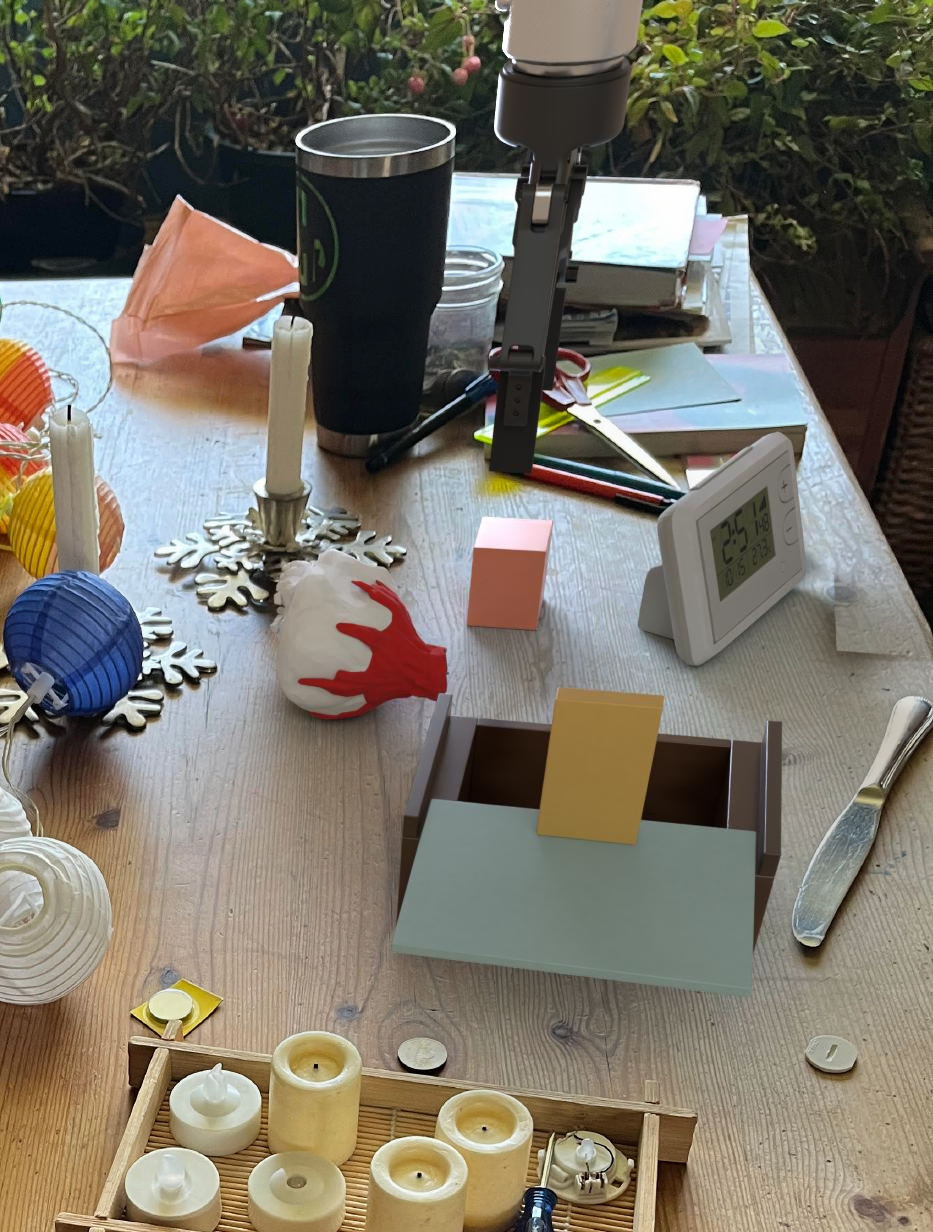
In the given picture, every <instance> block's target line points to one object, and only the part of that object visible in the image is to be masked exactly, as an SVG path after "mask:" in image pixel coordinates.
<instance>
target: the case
mask: <svg viewBox="0 0 933 1232" xmlns="http://www.w3.org/2000/svg"><path fill="white" fill-rule="evenodd" d="M453 696H454V695H453V694H452V693H445V694H444V693H439V695H438V699H437V702H436V701H435V706H434V709H433V713H432V716H431V719H430V723H429V726H428V730H427V733H426V736H425V741H424V743H423V747H422V750H421V753H420V757H419V761H418V764H417V767H416V771H415V774H414V778H413V782H412V785H411V788H410V792H409V795H408V799H407V802H406V804H405V805H406V806H405V809H404V813H403V817H402V818H403V819H402V830H401V831H402V832H401V847H400V859H399V862H400V863H399V876H398V889H397V891H398V892H397V903H396V905H397V906H396V918H395V919H396V921H395V926H396V925H397V921H398V918H399V914H400V911H401V907H402V903H403V900H404V896H405V892H406V889H407V885H408V881H409V878H410V874H411V870H412V867H413V863H414V859H415V856H416V852H417V848H418V845H419V841H420V837H421V834H422V830H423V826H424V823H425V819H426V816H427V812H428V808H429V805H430V801H431V799H438V800H448V801H458V802H468V803H477V804H487V805H497V806H507V807H517V808H527V809H537V810H540V803H541V796H542V789H543V782H544V775H545V768H546V761H547V754H548V747H549V740H550V733H551V726H552V723H544V722H543V723H542V722H532V721H522V720H509V719H498V718H486V717H474V716H463V715H462V716H461V715H453V714H452V707H453ZM764 727H765V728H764V731H763V736H762V739H761V741H750V740H749V741H748V740H738V739H732V740H731V739H728V738H717V737H704V736H695V735H694V736H693V735H682V734H671V733H670V734H669V733H659V732H658V736H657V741H656V746H655V751H654V756H653V761H652V766H651V771H650V776H649V781H648V786H647V791H646V796H645V801H644V807H643V812H642V817H641V820H646V821H656V822H666V823H676V824H685V825H695V826H705V827H715V828H725V829H735V830H745V831H755V832H756V861H755V897H754V933H753V954H754V953H755V949H756V946H757V942H758V939H759V936H760V932H761V928H762V925H763V922H764V917H765V914H766V910H767V907H768V903H769V899H770V896H771V894H772V893H771V892H772V889H773V885H774V881H775V879H776V878H775V877H776V874H777V872H778V868H779V864H780V861H781V857H782V812H783V811H782V810H783V809H782V805H783V803H782V800H783V799H782V797H783V795H782V794H783V792H782V791H783V721H780V720H766V724H765V726H764Z"/></svg>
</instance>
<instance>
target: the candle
mask: <svg viewBox="0 0 933 1232" xmlns="http://www.w3.org/2000/svg"><path fill="white" fill-rule="evenodd" d="M281 571H283V573H281V574H280V575H279V578H278V582H277V584H276V585H275V586H276V588H275V592H276V593H274V594H273V603H274V605H279V607H278V608H277V609H276V612H277V615H276V617H275V618H274V619H273V622H271V624H270V626H269V630H270V632H272V634H275V635H276V638H277V641H278V643H279V647H278V655H277V662H276V669H275V670H276V677H277V680H278V683H279V687H280V688H281V690H282V692H283V694H284V695H285V697H286V698H287V699H288V700H289V701H291V702H292V703H293V704H295V705H296V706H298V707H299V708H302V709H303V710H305V711H307V712H309V713H308V715H310V716H312V717H315V718H318V719H320V720H343V719H350V718H354V717H358V716H362V715H363V714H365V713H367V712H369V711H372V710H373V709H376V708H377V707H379V706H380V705H382V704H384V703H387V702H389V701H392V700H395V699H408V698H411V697H416V698H421V699H427V700H429V701H432V702H435V703H436V702H437V699H438V695H439V693H444V694H447V691H448V677H447V676H448V675H450V673H449V671H448V670H449V668H448V660H447V651H448V649H447V648H446V647H445V646H440V645H436V644H431V643H426V642H425V641H423V639H422V638H421V637H420V635H419V634H418V631H417V630H416V628H415V625H414V624H413V621H412V618H411V615H410V612H409V611H408V609H407V607H406V606H405V605H404V603H403V602H402V600H401V598H400V597H399V595H398V594H397V593H396V584H395V582H394V580H393V578H392V576H391V574H390V572H389V570H388V569H387V568H385V566H378V565H372V564H368V563H366V562H363V561H361V560H359V559H357V558H355V557H353V556H351V555H349V554H348V553H345V552H343V551H340V550H338V549H335V548H329V549H326V550H324V551H323V552H321V554H319V555H318V559H317V560H316V562H315V563H312V562H309V561H307V560H299V559H297V560H292V561H291V562H283V563H282V565H281Z"/></svg>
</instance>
